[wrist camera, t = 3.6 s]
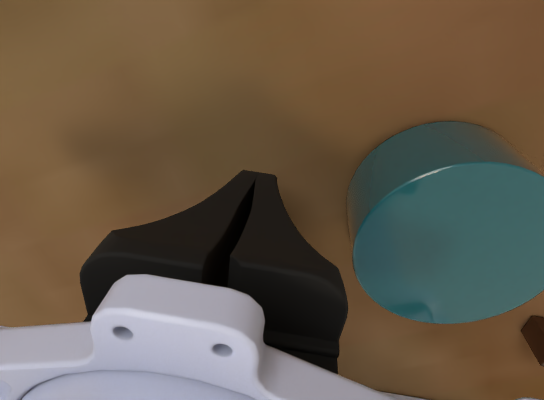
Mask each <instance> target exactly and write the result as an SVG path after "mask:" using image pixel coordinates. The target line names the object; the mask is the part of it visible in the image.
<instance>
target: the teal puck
mask: <svg viewBox="0 0 544 400" xmlns="http://www.w3.org/2000/svg"><path fill="white" fill-rule="evenodd" d="M346 209H347V218H348V227H349V235H350V244H351V252H352V261H353V268H354V271H355V275H356V277H357V279H358V281H359V283H360V285H361V286H362V288H363V289H364V291H365V292H366V293H367V294H368V295H369V296H370V297H371V298H372V299H373V300H374V301H375V302H376V303H378V304H379V305H380V306H381V307H383V308H385V309H387V310H388V311H390V312H392V313H394V314H397V315H399V316H401V317H405V318H408V319H411V320H415V321H420V322H426V323H434V324H457V323H466V322H473V321H478V320H483V319H487V318H490V317H494V316H497V315H500V314H502V313H505V312H508V311H510V310H512V309H514V308H516V307H518V306H520V305H522V304H524V303H526V302H527V301H529V300H531V299H532V298H534V297H535V296H536V295H538V294H539V293H541V292H542V291H543V290H544V174H543V173H542V172H541V171H540V170H539V169H538V168H537V167H535V166H534V165H533V164H532V163H531V162H530V161H529V160H528V159H527V158H525V157H524V156H523V155H522V154H521V153H520V152H519V151H518V150H516V149H515V148H514V147H513V146H512V145H511V144H510V143H509V142H508V141H506V140H505V139H504V138H502V137H501V136H500V135H498V134H497V133H495V132H493V131H491V130H489V129H487V128H484V127H482V126H479V125H475V124H470V123H466V122H455V121H448V122H435V123H428V124H424V125H420V126H416V127H413V128H410V129H408V130H405V131H402V132H400V133H398V134H396V135H395V136H393V137H391V138H389V139H388V140H386V141H385V142H383V143H382V144H380V145H379V146H378V147H377V148H375V149H374V150H373V151H372V152H371V153H370V154H369V155H368V156H367V157H366V158H365V159H364V160H363V162H362V163H361V164H360V166H359V167H358V169H357V170H356V172H355V174H354V176H353V178H352V180H351V183H350V185H349V188H348V193H347V199H346Z"/></svg>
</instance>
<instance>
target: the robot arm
mask: <svg viewBox="0 0 544 400" xmlns="http://www.w3.org/2000/svg"><path fill="white" fill-rule="evenodd" d="M80 284H81V288H82V292H83V296H84V300H85V305H86V309H87V313H88V315H87V317H86V318H85V320H84V321H83V322H76V323H63V324H50V325H37V326H24V327H6V326H0V400H427V399H421V398H416V397H410V396H404V395H398V394H392V393H387V392H381V391H376V390H374V389H372V388H369V387H367V386H364V385H362V384H360V383H357V382H355V381H352V380H350V379H348V378H345V377H343V376H340V375H338V367H337V358H338V356H339V338H340V336H341V333H342V330H343V327H344V324H345V321H346V318H347V313H348V302H347V296H346V292H345V288H344V284H343V281H342V278H341V275H340V272H339V269H338V268H337V267H336V266H335V265H333V264H332V263H331V262H329V261H328V260H327V259H325V258H324V257H323V256H321V255H320V254H319V253H318V252H317V251H316V250H315V249H313V248H312V247H311V246H310V245H309V244H308V242H307V241H306V240H305V239H304V238H303V237H302V236H301V234H300V233H299V232H298V230H297V229H296V227H295V226H294V224H293V222H292V221H291V219H290V217H289V215H288V213H287V211H286V209H285V207H284V205H283V202H282V199H281V197H280V193H279V190H278V186H277V177H276V176H275V175H272V174H266V173H259V172H253V171H247V170H242V171H241V172H240V173H239V174H237V175H236V176H235V177H234V178H233V179H232V180H231V181H229V182H228V183H227V184H226V185H225V186H223V187H222V188H221V189H219V190H218V191H217V192H216V193H214V194H213V195H211V196H210V197H208V198H207V199H205V200H204V201H202V202H200V203H199V204H197V205H195V206H193V207H191V208H189V209H187V210H185V211H183V212H180V213H178V214H175V215H173V216H170V217H167V218H165V219H162V220H158V221H155V222H152V223H148V224H144V225H140V226H135V227H130V228H124V229H119V230H112V231H111V232H110V233H109V235H108V236H107V237H106V238H105V239H104V240H103V241H102V242H101V243H100V244H99V246H98V247H97V248H96V249H95V250H94V252H93V253H92V254H91V256H90V257H89V258H88V259H87V261H86V262H85V263H84V264H83V266H82V269H81V272H80ZM515 400H541V399H535V398H525V397H522V398H518V399H515Z"/></svg>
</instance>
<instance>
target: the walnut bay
mask: <svg viewBox="0 0 544 400" xmlns="http://www.w3.org/2000/svg"><path fill="white" fill-rule="evenodd" d="M521 332H522V334H523V335H524V337H525V339H526V341H527V342H528V344H529V346H530V348H531V350H532V351H533V353H534V355H535V357H536V358H537V360H538V362H539V364H540V365H541V366H544V318H542V317H536V316H532V317H531V319H530V320H529V321H528V322H527V324H526V325H525V326H524V328H523V329H522V330H521Z"/></svg>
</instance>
